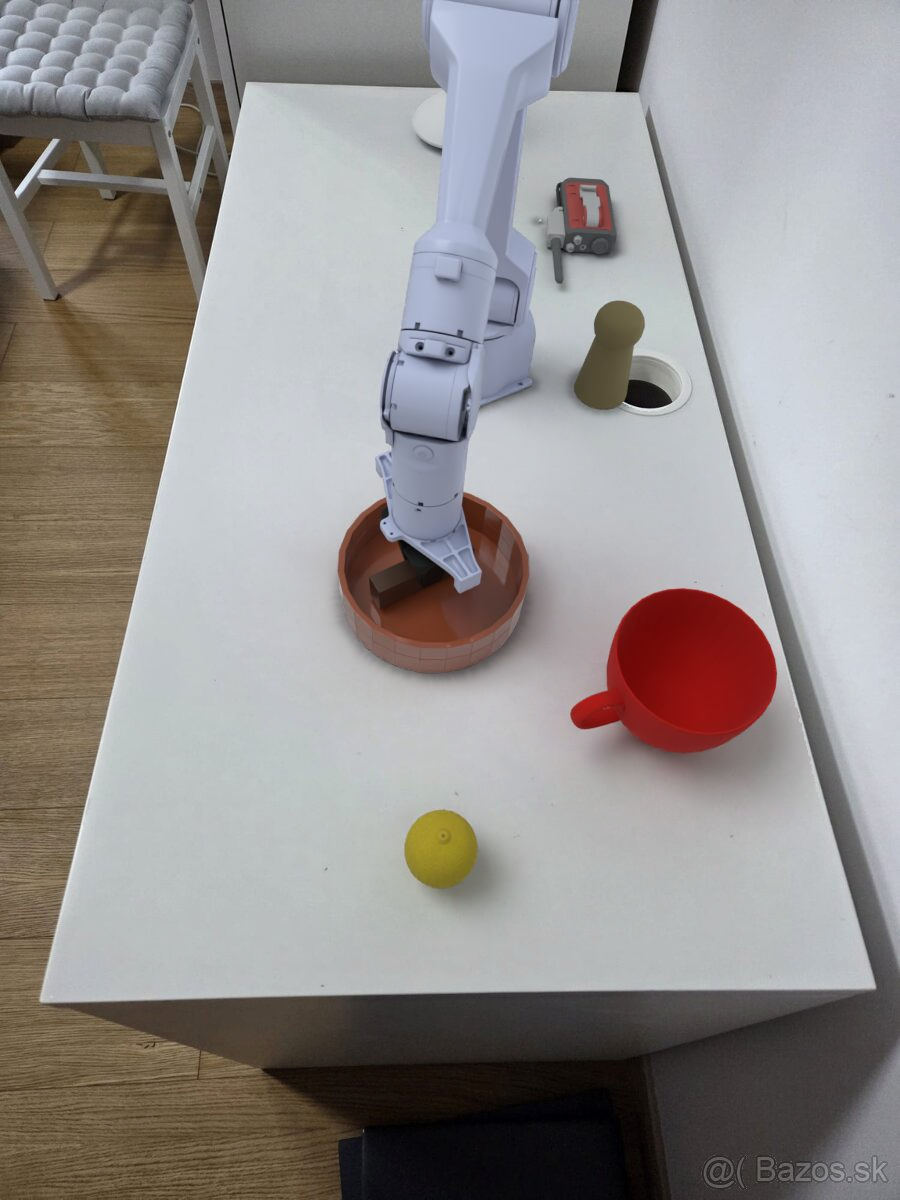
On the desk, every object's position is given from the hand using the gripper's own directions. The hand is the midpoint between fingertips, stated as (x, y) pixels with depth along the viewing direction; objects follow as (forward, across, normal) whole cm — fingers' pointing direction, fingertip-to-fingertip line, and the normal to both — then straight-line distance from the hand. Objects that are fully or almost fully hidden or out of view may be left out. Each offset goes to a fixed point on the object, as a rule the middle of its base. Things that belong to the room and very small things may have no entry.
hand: (423, 571), depth 75 cm
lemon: (+3, +23, -12) cm, 26 cm away
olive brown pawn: (+3, -13, +30) cm, 33 cm away
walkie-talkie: (+3, -36, +44) cm, 57 cm away
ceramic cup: (+3, +21, +10) cm, 24 cm away
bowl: (+3, +1, 0) cm, 3 cm away
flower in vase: (+3, -64, +42) cm, 76 cm away
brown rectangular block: (+1, 0, 0) cm, 1 cm away
